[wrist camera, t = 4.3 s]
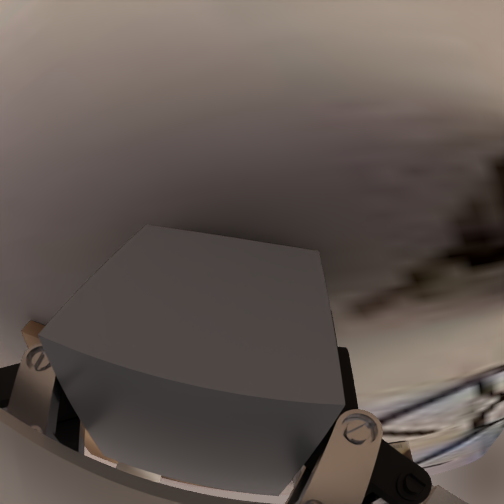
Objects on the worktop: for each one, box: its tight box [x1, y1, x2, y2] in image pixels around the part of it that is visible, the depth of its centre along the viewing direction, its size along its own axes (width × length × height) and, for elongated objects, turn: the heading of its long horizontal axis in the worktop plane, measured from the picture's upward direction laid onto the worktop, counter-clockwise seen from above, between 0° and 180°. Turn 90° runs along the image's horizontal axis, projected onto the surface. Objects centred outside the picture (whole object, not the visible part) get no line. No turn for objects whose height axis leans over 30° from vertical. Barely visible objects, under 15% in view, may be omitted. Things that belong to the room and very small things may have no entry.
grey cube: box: [38, 224, 345, 496], centre depth 9 cm, size 6×6×6 cm
